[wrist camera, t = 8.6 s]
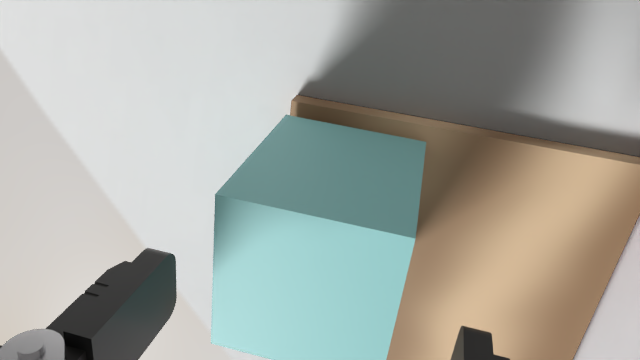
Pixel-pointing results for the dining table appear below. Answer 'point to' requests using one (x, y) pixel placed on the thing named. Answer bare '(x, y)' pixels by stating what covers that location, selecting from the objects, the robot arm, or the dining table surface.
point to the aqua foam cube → (315, 242)
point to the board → (502, 234)
